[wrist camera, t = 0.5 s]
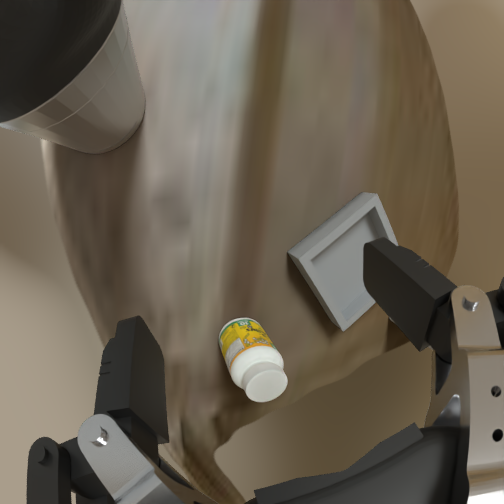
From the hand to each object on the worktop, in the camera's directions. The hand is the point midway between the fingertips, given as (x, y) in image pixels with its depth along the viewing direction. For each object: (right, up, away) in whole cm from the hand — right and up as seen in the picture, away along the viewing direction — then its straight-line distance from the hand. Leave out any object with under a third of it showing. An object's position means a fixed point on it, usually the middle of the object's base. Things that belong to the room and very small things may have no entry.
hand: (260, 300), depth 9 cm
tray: (+12, +1, +25) cm, 27 cm away
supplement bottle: (-2, -8, +23) cm, 25 cm away
